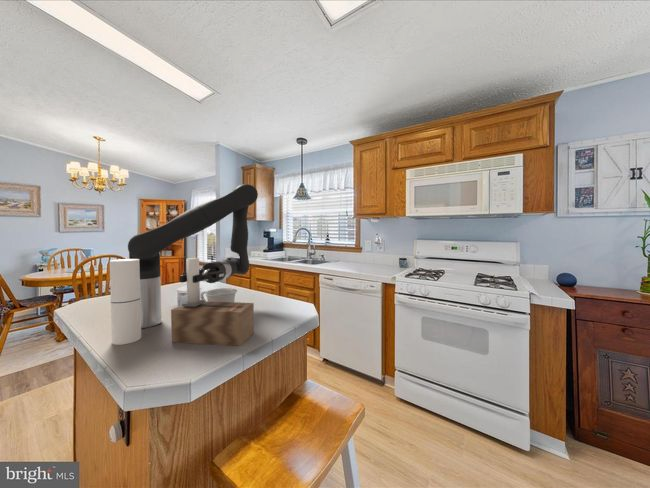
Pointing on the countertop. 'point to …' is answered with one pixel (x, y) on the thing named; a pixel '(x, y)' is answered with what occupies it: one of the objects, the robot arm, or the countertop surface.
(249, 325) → the brown rectangular block
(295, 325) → the countertop surface
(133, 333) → the cylindrical container
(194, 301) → the lever
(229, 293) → the teacup
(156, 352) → the countertop surface
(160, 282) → the robot arm
